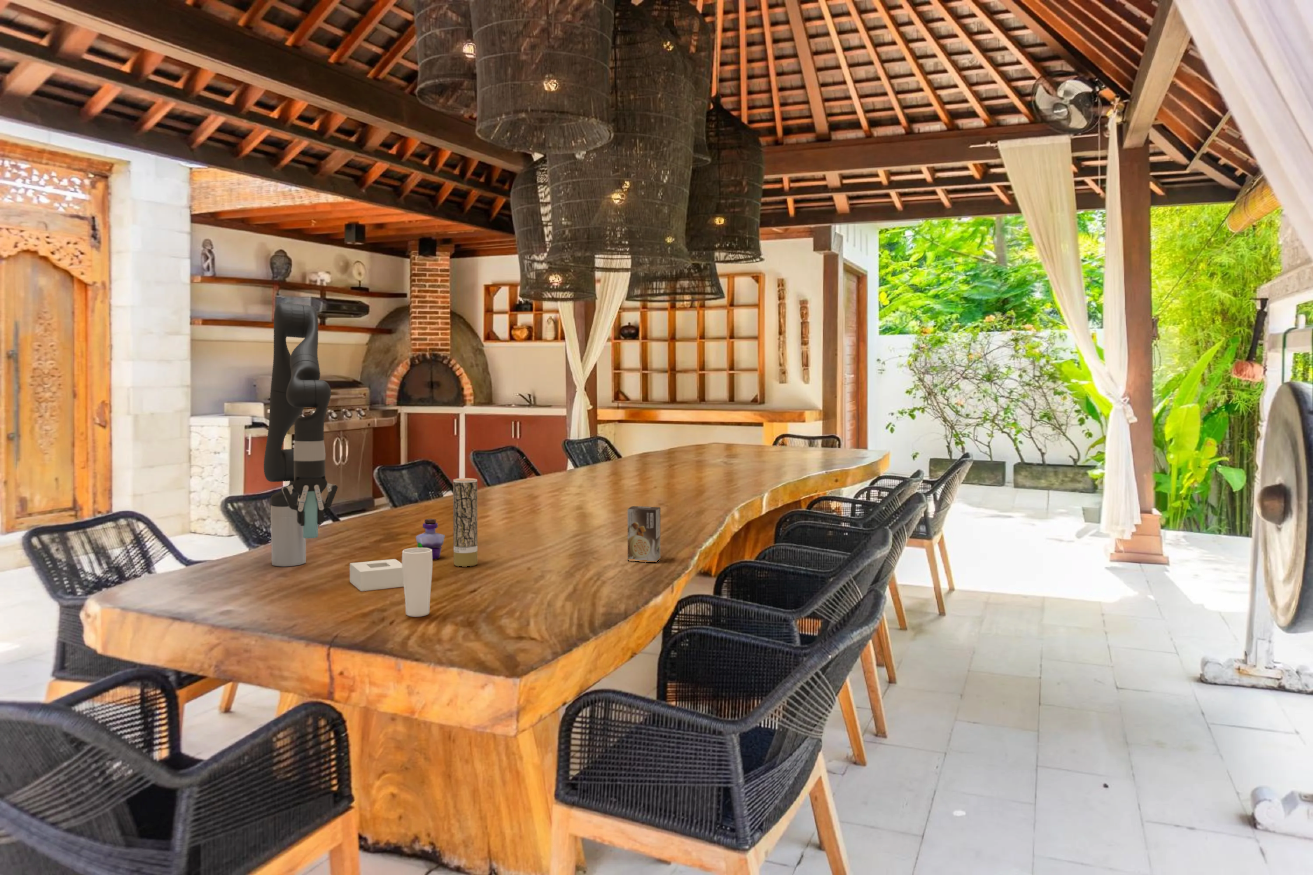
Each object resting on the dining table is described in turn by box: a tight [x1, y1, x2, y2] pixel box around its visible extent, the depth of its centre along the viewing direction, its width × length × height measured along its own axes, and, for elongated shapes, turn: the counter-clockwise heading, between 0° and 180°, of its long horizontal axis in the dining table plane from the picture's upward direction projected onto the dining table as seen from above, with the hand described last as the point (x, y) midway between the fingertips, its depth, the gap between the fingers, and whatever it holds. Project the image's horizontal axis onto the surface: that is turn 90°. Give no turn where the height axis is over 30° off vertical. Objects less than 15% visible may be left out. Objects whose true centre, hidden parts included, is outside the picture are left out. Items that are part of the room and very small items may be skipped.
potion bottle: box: [415, 518, 446, 561], centre depth 273 cm, size 9×9×12 cm
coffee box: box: [627, 505, 661, 561], centre depth 273 cm, size 9×6×16 cm
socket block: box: [349, 558, 404, 592], centre depth 239 cm, size 12×12×5 cm
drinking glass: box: [401, 547, 433, 618], centre depth 209 cm, size 7×7×15 cm
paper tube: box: [452, 477, 478, 568], centre depth 263 cm, size 7×7×25 cm
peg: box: [303, 491, 319, 539], centre depth 233 cm, size 4×4×12 cm
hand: (310, 524), depth 234 cm, fingers closed on peg, 3 cm apart
